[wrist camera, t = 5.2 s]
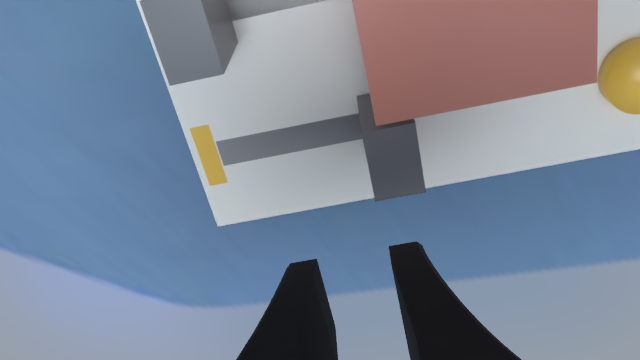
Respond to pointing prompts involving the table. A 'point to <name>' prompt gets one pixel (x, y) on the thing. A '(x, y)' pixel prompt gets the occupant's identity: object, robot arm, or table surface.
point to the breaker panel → (342, 109)
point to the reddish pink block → (472, 52)
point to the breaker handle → (391, 154)
